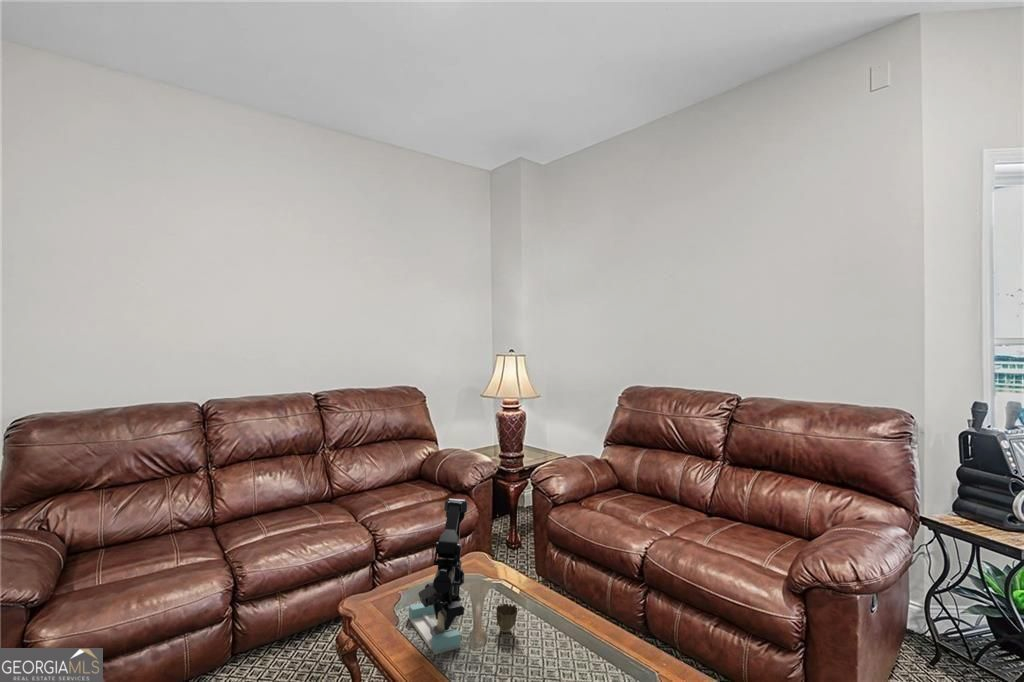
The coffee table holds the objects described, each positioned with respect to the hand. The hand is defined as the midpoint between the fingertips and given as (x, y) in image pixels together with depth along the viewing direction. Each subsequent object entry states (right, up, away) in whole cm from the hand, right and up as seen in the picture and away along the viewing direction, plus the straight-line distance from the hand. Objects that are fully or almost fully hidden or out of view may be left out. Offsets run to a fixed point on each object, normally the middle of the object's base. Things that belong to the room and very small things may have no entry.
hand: (441, 624), depth 173 cm
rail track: (-4, -5, +5) cm, 8 cm away
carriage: (0, -4, 0) cm, 4 cm away
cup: (+21, -8, +9) cm, 24 cm away
